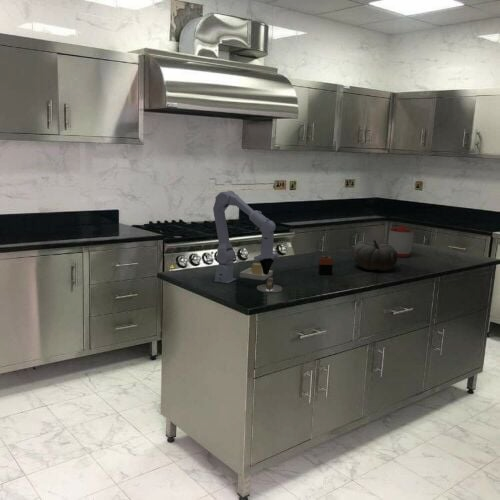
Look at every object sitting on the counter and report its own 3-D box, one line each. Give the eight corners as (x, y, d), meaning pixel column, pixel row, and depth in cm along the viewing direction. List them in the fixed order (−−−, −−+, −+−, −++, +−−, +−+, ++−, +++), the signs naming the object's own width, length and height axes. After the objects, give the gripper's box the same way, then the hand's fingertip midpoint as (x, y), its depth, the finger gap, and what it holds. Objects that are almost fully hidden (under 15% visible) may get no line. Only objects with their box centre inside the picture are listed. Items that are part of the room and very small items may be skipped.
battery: (318, 273, 293) (319, 255, 291) (330, 273, 293) (331, 255, 291) (319, 275, 289) (320, 256, 287) (332, 275, 289) (333, 257, 287)
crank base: (277, 293, 249) (277, 291, 249) (253, 290, 253) (253, 288, 253) (285, 287, 260) (285, 286, 260) (262, 284, 264) (262, 282, 264)
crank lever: (272, 289, 252) (273, 282, 251) (265, 288, 252) (266, 282, 252) (273, 281, 267) (274, 274, 266) (267, 280, 267) (267, 274, 267)
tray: (263, 280, 272) (263, 275, 272) (239, 277, 277) (239, 272, 277) (272, 275, 284) (272, 270, 283) (249, 272, 289) (249, 267, 288)
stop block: (258, 276, 278) (259, 265, 277) (251, 275, 279) (252, 264, 278) (261, 275, 281) (262, 263, 280) (254, 274, 283) (255, 262, 282)
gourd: (342, 259, 316) (350, 231, 312) (377, 265, 326) (386, 237, 322) (363, 274, 294) (372, 243, 290) (401, 279, 303) (410, 250, 299)
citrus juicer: (419, 258, 344) (422, 226, 341) (394, 258, 340) (397, 226, 336) (406, 253, 359) (409, 223, 355) (382, 253, 355) (385, 223, 351)
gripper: (261, 249, 251) (260, 277, 254) (283, 246, 260) (282, 273, 263) (251, 246, 256) (250, 274, 259) (273, 243, 266) (272, 270, 268)
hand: (265, 274), depth 261 cm, fingers closed
